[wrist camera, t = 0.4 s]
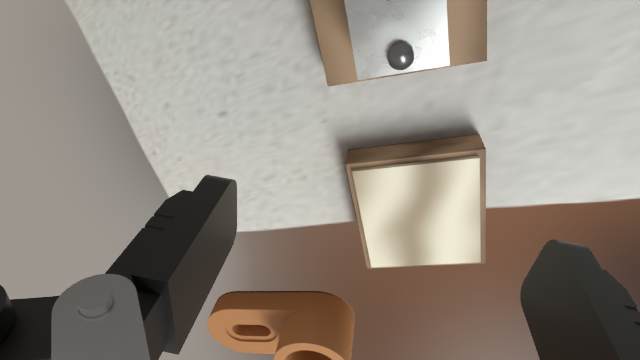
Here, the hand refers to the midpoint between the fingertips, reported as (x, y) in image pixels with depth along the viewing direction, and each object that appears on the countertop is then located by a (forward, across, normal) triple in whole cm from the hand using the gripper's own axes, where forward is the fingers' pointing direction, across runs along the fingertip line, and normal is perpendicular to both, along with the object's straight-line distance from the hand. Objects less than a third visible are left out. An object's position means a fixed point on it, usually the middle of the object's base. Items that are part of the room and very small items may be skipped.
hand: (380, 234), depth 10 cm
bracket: (+23, +6, +35) cm, 43 cm away
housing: (+20, 0, -4) cm, 20 cm away
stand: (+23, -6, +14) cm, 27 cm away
